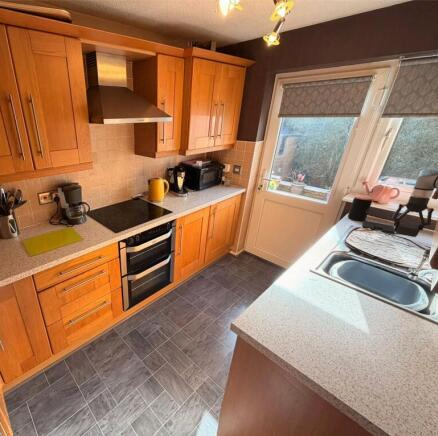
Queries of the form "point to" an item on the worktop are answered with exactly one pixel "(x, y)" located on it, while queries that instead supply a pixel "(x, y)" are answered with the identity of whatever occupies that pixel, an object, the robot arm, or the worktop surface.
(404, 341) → the worktop surface
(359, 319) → the worktop surface
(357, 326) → the worktop surface
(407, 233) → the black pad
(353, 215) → the coffee jar
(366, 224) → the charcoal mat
